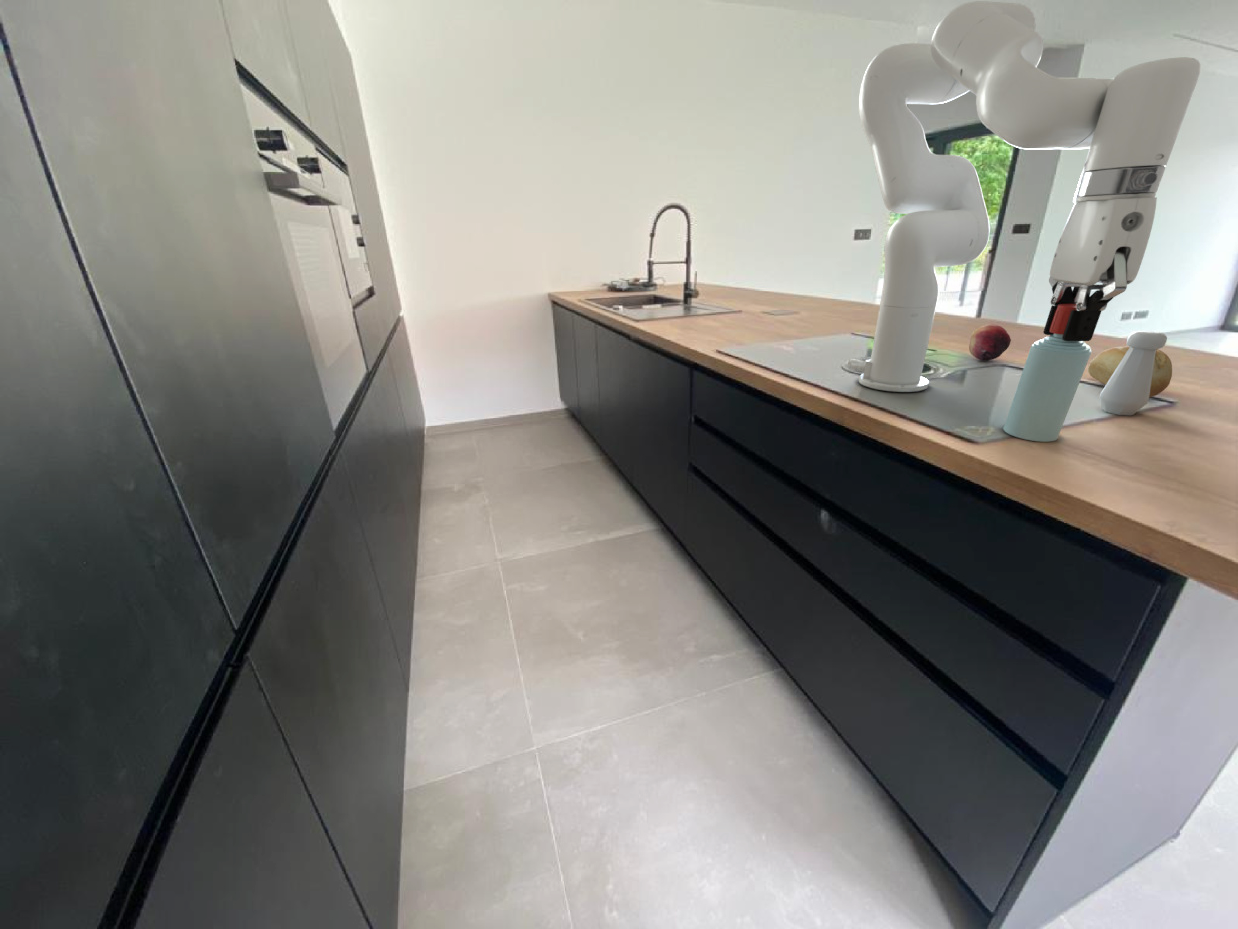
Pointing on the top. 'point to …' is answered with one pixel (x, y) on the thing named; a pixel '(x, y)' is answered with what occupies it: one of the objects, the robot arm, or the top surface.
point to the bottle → (1046, 388)
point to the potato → (1111, 358)
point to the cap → (1061, 318)
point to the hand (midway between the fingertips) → (1066, 336)
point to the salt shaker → (1132, 375)
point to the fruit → (989, 342)
